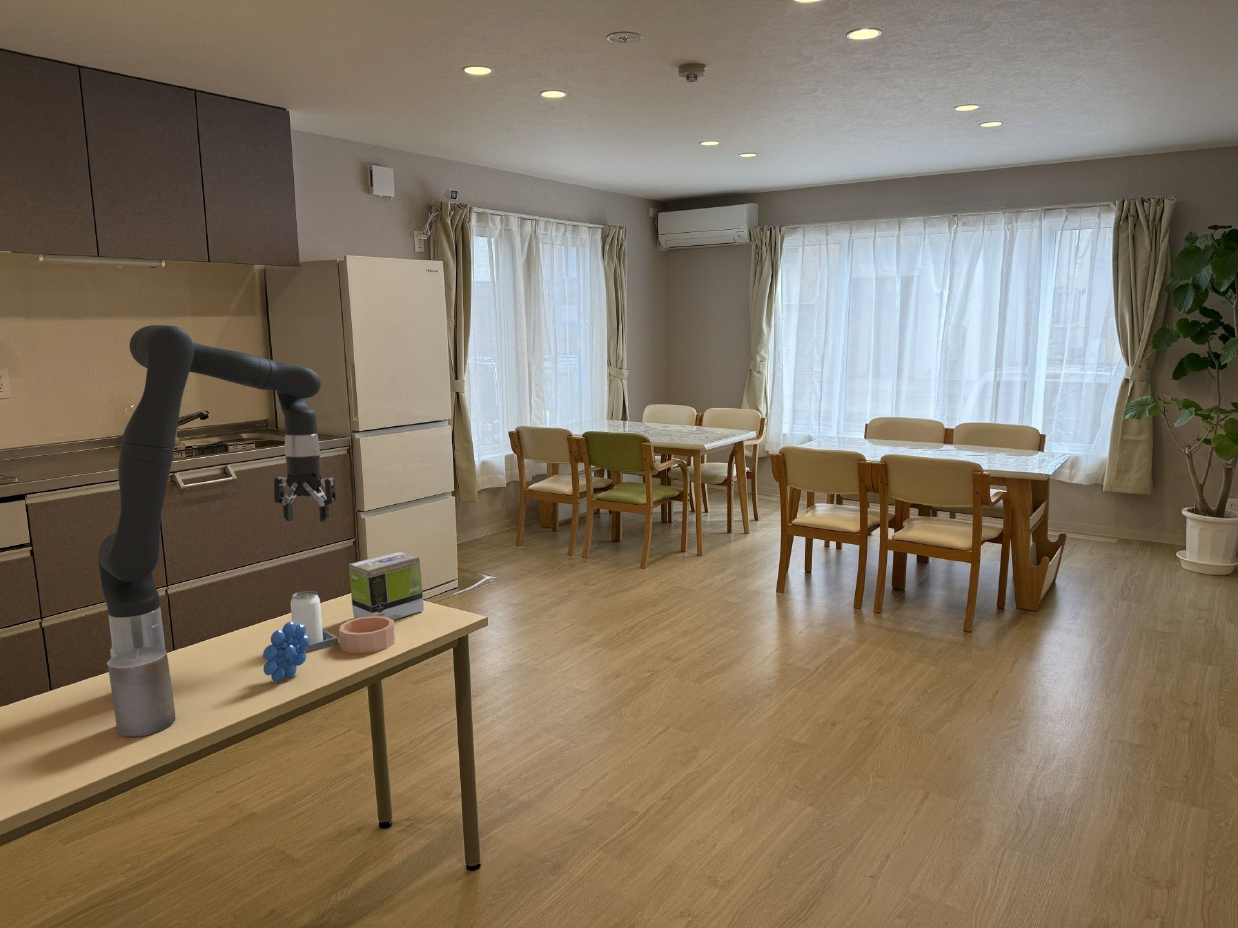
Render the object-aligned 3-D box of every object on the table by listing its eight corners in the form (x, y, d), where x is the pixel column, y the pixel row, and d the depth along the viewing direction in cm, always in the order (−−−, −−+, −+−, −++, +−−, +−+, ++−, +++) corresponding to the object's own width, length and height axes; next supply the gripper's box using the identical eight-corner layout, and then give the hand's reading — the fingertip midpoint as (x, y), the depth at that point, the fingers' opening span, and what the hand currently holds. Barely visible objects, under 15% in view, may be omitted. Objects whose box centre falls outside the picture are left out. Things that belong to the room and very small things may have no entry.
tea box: (403, 603, 225) (400, 550, 223) (424, 611, 218) (421, 556, 216) (351, 618, 215) (347, 562, 212) (372, 627, 208) (368, 569, 205)
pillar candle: (167, 708, 164) (158, 635, 162) (182, 725, 157) (172, 649, 155) (111, 726, 158) (100, 650, 155) (124, 743, 151) (112, 664, 148)
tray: (296, 655, 190) (295, 648, 190) (279, 643, 198) (278, 637, 197) (338, 643, 197) (337, 637, 197) (320, 632, 204) (320, 626, 204)
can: (304, 651, 193) (300, 600, 191) (288, 645, 197) (284, 595, 195) (328, 642, 198) (325, 593, 196) (313, 636, 202) (309, 588, 200)
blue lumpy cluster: (297, 664, 185) (292, 612, 183) (319, 669, 182) (314, 616, 180) (251, 684, 175) (246, 629, 173) (274, 690, 172) (268, 634, 170)
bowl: (355, 657, 188) (354, 638, 188) (332, 643, 197) (331, 625, 196) (404, 643, 196) (402, 624, 196) (379, 630, 205) (378, 612, 204)
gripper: (265, 455, 194) (270, 523, 197) (323, 455, 193) (327, 525, 195) (282, 450, 202) (286, 517, 204) (338, 451, 200) (342, 518, 202)
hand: (306, 520), depth 199 cm, fingers open, 8 cm apart
